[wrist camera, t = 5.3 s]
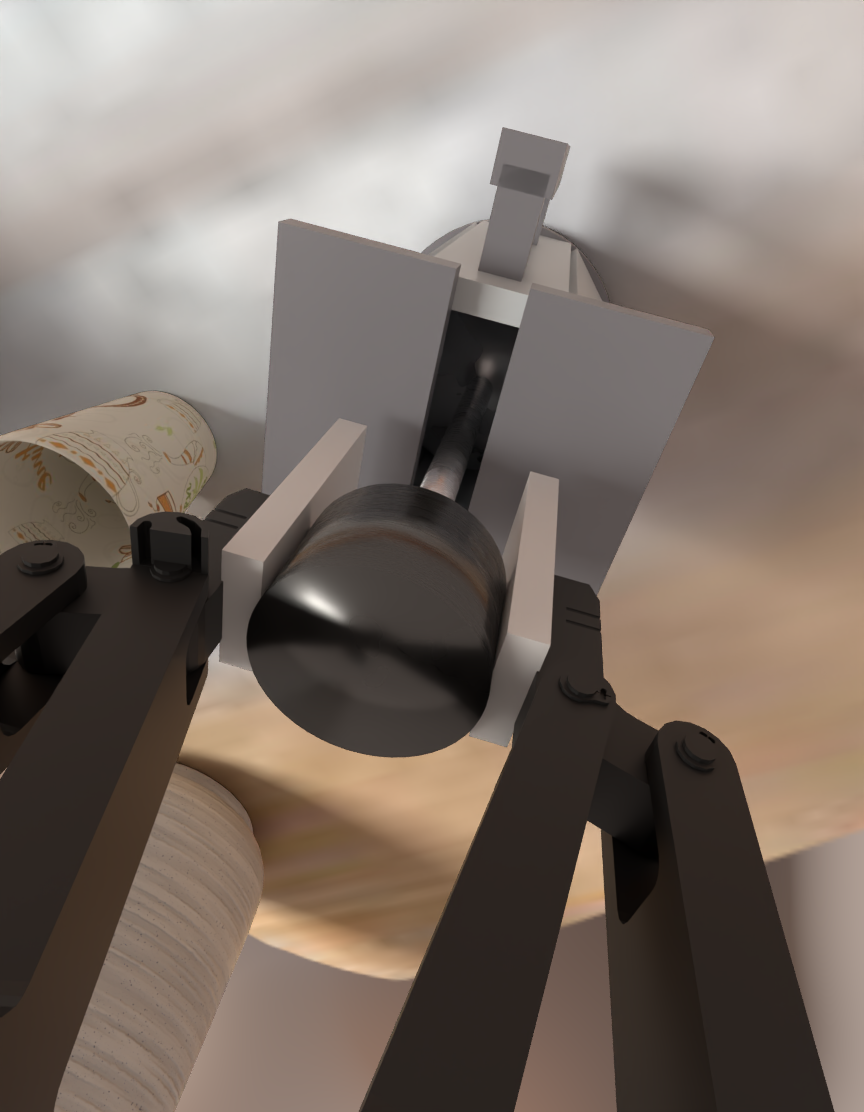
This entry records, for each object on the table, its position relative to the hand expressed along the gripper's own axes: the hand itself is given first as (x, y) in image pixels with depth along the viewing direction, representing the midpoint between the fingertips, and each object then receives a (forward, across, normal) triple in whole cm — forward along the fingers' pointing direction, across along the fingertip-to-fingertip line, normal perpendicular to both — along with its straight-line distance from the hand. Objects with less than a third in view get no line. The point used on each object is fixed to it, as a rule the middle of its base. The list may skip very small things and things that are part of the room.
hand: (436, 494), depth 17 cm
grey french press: (+16, 0, +1) cm, 16 cm away
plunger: (+10, 0, 0) cm, 10 cm away
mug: (+16, -16, -12) cm, 26 cm away
